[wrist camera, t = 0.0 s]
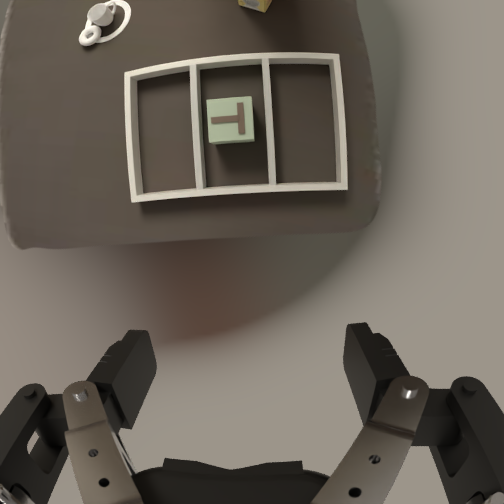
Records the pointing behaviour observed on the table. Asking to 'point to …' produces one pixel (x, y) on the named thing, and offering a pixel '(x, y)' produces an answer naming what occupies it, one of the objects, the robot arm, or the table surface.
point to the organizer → (197, 128)
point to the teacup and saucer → (103, 22)
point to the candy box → (255, 4)
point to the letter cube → (230, 120)
